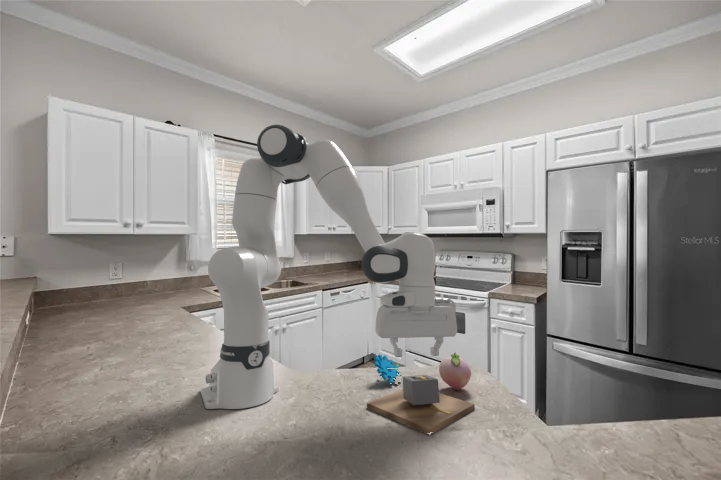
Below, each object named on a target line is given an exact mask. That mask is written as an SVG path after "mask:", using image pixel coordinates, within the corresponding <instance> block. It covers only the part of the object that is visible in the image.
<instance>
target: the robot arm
mask: <svg viewBox="0 0 721 480" xmlns="http://www.w3.org/2000/svg"><path fill="white" fill-rule="evenodd" d="M256 146H257V153H259V156H260V157H254V158H253V157H251V158H249V159H247V160H244V162H243V163H242V165H241V167H240V171H239V174H238V177H237V180H236V185H235V192H234V199H233V207H232V208H233V209H232V210H233V211H232V216H231V217H232V219H231V225H232V228H233V229H234V231H235V233H236V237H237V239H238V240H237V242H238V246H230V247H225V248H222V249H219V250H217V251H216V252H214V253H213V255H212V256H210V259H209V260H208V266H207V274H208V277H209V280H210V281H211V282H212V283H213V285H214V286H215V287H216V288H217V291H218V294H219V296H220V300H221V303H222V308H223V309H222V310H223V315H224V317H223V318H224V321H223V326H224V327H223V343H222V344H221V347H220V352H219V353H220V354H219V360H218V361H217V362H216V363H215V364H214V366H213V367H212V368H211V369H210V373H207V374H205V385H203V386H201V387H200V395H201V397H202V401H203V404H204V408H205V409H207V410H213V409H214V410H215V409H217V410H218V409H225V410H240V409H241V410H242V409H247V408H248V409H249V408H252V407H256V406H260V405H262V404H265V403H267V402H268V401H270V400H272V398H273V396H274V394H275V393H277V392H278V391H279V385H276V384H275V374H274V372H275V370H274V367H275V366H274V360H273V359H272V358H270V357H269V355H270V353H271V352H270V349H271V345H270V341H269V321H270V320H269V316H270V313H269V310H268V307H267V306H266V305H265V302H264V299H263V295H262V290H261V289H263V288H266V287H268V286H270V285H272V284H273V283H275V282H276V281H277V280H279V278H280V276H281V273H282V265H281V262H280V260H279V257H278V252H277V244H276V235H275V232H276V231H275V223H276V212H277V202H278V201H277V199H278V193H279V191H278V190H279V188H280V187H279V186H280V184H283V185H290V184H293V183H299V182H304V181H307V180H308V179H310V178H311V181H312V182H313V183H314V185H315V188H316V189H317V191H318V193H319V195H320V197H321V198H322V199H323V200H324V202H325V204H327V206H328V207H329V209H331V210H332V211H333V212H334V213H335V214H336V215H338V216H339V217H340V218H341V219H342V220H343V221H344V222H345V223H346V224H347V225H348V226H349V228H350V230H352V233H354V236H355V237H356V239H357V241H358V242H359V244H360V246H361V248H362V249H363V251H364V254H363V256H362V259H361V269H362V272H363V274H364V276H365V277H366V279H368V280H369V281H371V282H373V283H376V284H381V285H390V284H394V283H395V282H398V286H399V287H398V290H396V291H392V292H389V293H385V294H383V295H381V296H380V297H379V302H380V304H382V305H380V306H379V308H378V309H377V312H376V319H375V333H376V334H377V336H378V337H379V338H382V339H389V342H390V344H391V345H392V348H393V356H394V357H395V358H402V357H403V349H402V348H399V347H398V345H397V343H398V342H399V339H403V338H404V339H405V338H406V339H408V338H412V339H413V338H434V340H435V342H434V344H433V346H431V347H430V349H429V350H430V355H431V356H433V357H439V356H440V349H441V347H442V345H443V343H444V338H447V337H448V338H450V337H451V338H452V337H453V338H454V337H455V336H456V335H457V334H458V324H457V323H458V322H457V315H456V311H457V310H456V309H457V308H456V307H457V306H456V303H455V302H454V301H453V299H450V298H449V297H448V298H447V297H446V298H440V297H438V298H437V297H436V282H435V280H434V275H435V271H436V253H435V245H434V242H433V239H431V237H429V236H428V235H426V234H423V233H420V232H419V233H418V232H413V231H411V232H410V231H407V232H403V233H402V234H400V235H399V236H398V237H397V238H394V239H392V240H389V241H388V242H385V240H384V238H383V236H382V235H381V234H380V232H379V230H378V228H377V226H376V225H375V223H374V221H373V219H372V217H371V215H370V212H369V209H368V205H367V203H366V198H365V195H364V190H363V188H362V184H361V182H360V180H359V177H358V175H357V173H356V171H355V169H354V168H353V166H352V164H351V163H350V161H349V159H348V158H347V157H346V155H345V153H344V152H343V151H342V150H341V149H340V148H339V146H338V145H337V144H336V143H335V142H334V141H332V140H330V139H320V140H317V141H315V142H313V143H308V142H307V140H306V138H305V136H303V135H302V134H299V133H298V132H296V131H295V130H293V129H290V128H289V127H287V126H284V125H283V124H282V125H281V124H271V125H268V126H267V127H265V128H264V129H263V130H262V131H260V133H259V135H258V137H257V142H256Z"/></svg>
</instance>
